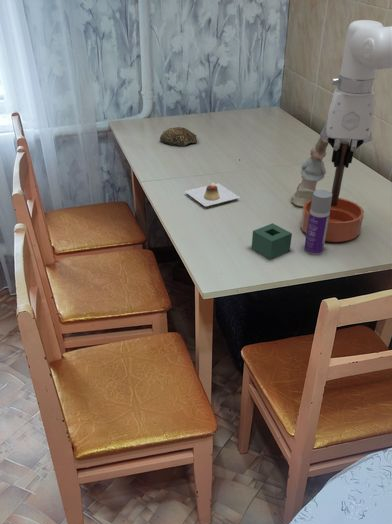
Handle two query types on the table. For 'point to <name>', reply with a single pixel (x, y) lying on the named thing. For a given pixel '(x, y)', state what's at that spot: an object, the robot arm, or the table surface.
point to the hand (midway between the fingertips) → (340, 164)
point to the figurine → (311, 173)
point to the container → (318, 222)
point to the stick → (339, 172)
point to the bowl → (338, 220)
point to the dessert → (212, 194)
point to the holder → (271, 241)
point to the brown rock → (178, 136)
